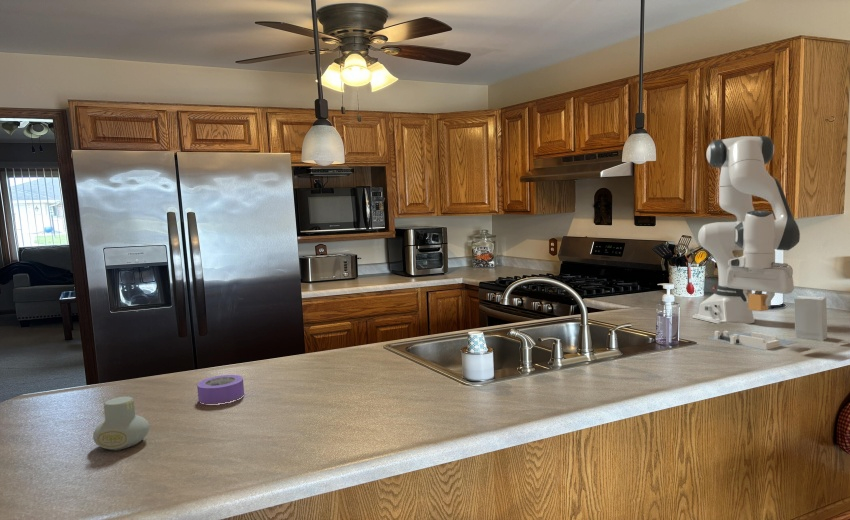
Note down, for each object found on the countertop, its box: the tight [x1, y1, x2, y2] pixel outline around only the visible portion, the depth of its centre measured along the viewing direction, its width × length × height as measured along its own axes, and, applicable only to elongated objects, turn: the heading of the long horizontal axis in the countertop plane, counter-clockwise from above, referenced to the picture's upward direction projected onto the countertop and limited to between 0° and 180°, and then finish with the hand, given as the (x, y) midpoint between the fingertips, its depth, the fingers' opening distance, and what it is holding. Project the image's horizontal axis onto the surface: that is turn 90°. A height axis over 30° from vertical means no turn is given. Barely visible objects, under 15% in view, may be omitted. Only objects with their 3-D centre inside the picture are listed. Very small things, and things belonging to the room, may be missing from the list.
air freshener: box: [92, 396, 150, 451], centre depth 127 cm, size 11×8×10 cm
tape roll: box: [196, 374, 245, 404], centre depth 157 cm, size 12×12×5 cm
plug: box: [748, 291, 769, 312], centre depth 186 cm, size 4×4×6 cm
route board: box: [706, 330, 798, 351], centre depth 193 cm, size 20×18×4 cm
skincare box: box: [793, 295, 828, 342], centre depth 193 cm, size 8×6×15 cm
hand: (758, 304), depth 186 cm, fingers closed on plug, 4 cm apart
